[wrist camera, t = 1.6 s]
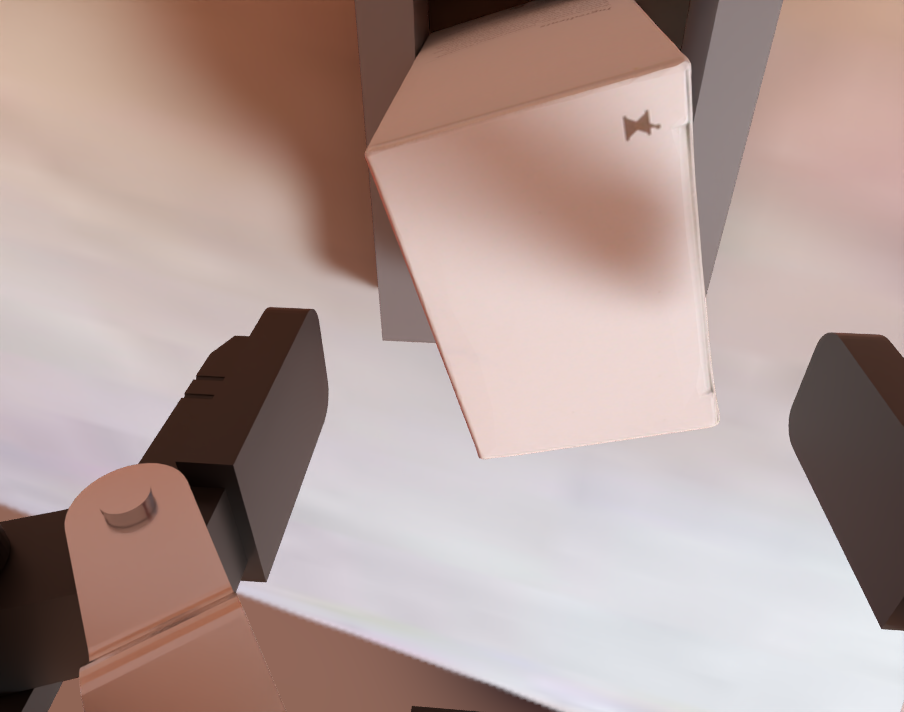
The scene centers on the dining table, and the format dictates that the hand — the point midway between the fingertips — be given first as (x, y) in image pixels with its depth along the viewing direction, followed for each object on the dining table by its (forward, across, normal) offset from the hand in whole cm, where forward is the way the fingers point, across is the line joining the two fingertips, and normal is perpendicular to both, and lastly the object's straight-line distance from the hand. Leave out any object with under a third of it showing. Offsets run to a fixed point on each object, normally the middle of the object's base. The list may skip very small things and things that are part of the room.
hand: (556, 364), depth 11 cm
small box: (+13, 0, 0) cm, 13 cm away
